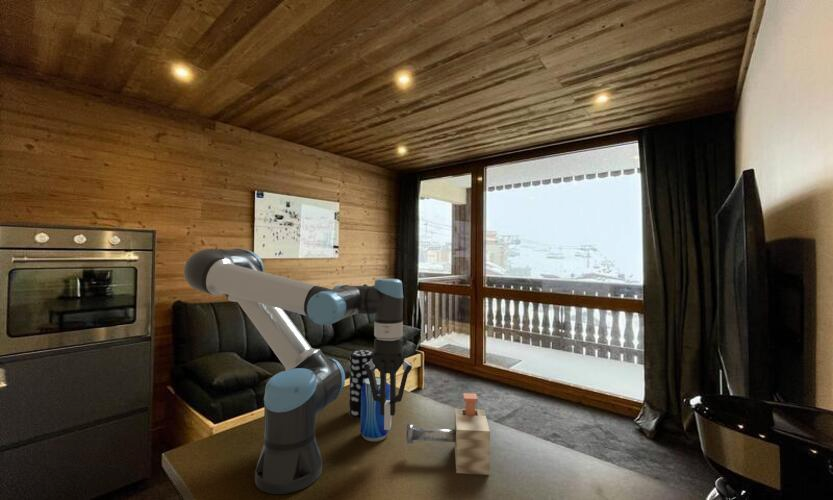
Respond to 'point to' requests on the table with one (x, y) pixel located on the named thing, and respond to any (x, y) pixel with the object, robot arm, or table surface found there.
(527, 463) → the table surface
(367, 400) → the beer can
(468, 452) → the block
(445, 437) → the pin
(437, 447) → the table surface
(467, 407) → the plunger
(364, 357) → the spotted tube
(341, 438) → the table surface
